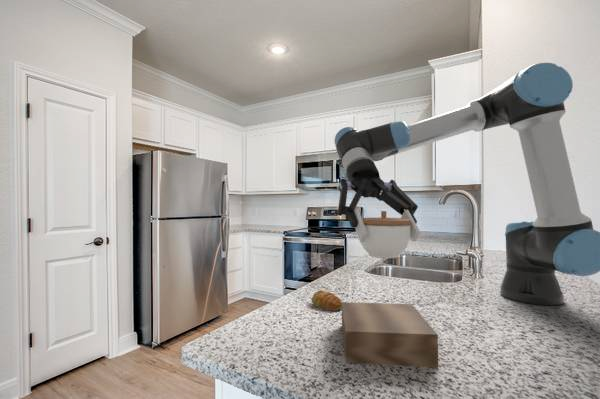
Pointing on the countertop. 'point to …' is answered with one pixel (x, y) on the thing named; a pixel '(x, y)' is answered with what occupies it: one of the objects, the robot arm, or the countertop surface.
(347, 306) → the walnut box
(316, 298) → the pastry
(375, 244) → the lidded jar
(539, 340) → the countertop surface
